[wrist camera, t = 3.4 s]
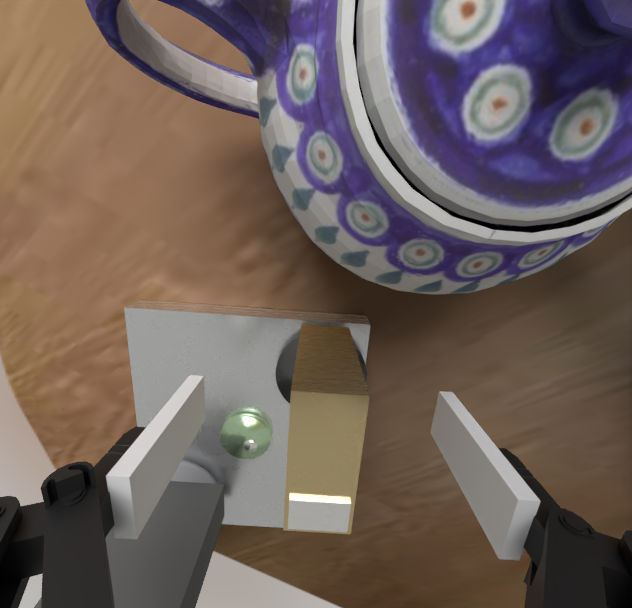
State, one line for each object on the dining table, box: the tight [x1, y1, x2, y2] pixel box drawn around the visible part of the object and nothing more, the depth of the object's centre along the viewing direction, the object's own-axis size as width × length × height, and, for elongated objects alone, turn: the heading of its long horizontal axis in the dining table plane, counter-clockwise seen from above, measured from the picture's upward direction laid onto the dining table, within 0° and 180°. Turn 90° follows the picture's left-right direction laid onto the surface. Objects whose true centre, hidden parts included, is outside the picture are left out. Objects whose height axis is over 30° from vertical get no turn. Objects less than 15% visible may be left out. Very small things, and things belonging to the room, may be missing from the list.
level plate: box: [124, 300, 371, 528], centre depth 22 cm, size 18×16×3 cm
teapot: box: [85, 0, 632, 294], centre depth 11 cm, size 25×15×15 cm, turn 77°
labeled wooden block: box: [275, 324, 370, 534], centre depth 16 cm, size 7×6×8 cm
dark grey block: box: [34, 460, 224, 608], centre depth 19 cm, size 7×6×8 cm
